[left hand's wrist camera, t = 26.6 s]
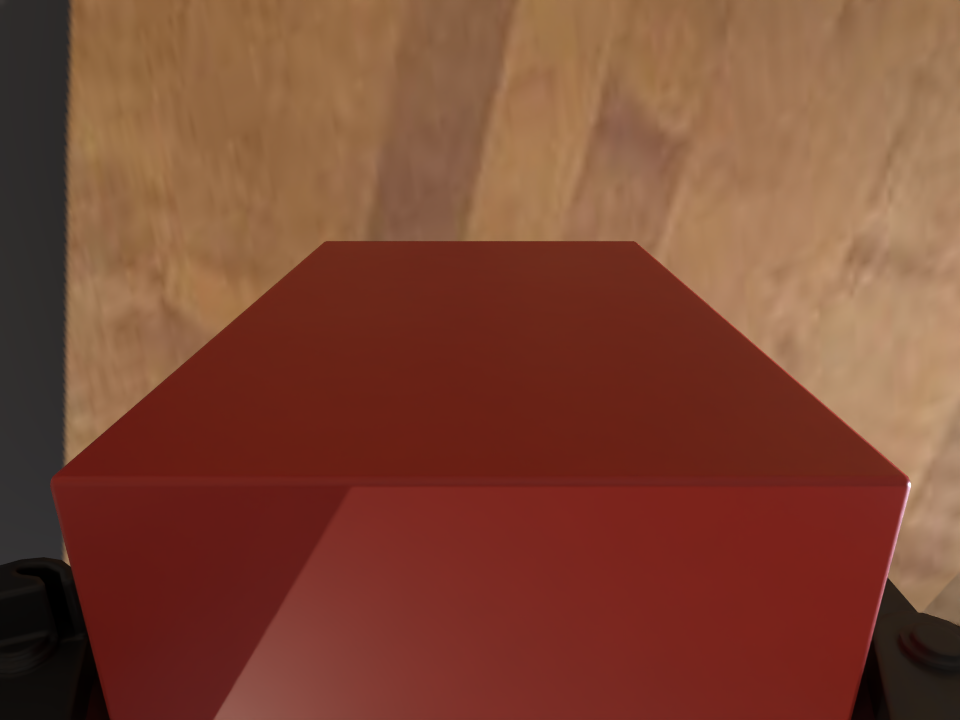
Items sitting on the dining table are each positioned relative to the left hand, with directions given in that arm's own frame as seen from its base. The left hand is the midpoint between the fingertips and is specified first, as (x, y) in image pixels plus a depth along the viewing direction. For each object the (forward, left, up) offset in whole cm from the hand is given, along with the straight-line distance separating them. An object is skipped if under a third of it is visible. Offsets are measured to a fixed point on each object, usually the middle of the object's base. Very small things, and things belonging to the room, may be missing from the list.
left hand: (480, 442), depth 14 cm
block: (0, 0, -3) cm, 3 cm away
